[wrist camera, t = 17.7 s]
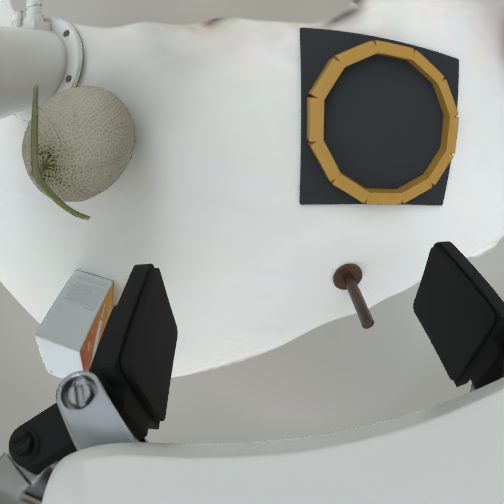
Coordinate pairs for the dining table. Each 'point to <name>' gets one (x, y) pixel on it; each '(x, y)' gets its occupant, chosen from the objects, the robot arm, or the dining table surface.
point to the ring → (317, 123)
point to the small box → (75, 324)
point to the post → (353, 291)
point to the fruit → (77, 144)
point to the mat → (373, 119)
